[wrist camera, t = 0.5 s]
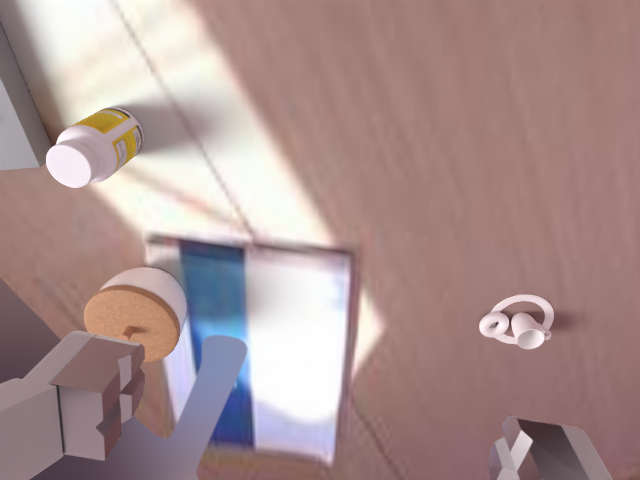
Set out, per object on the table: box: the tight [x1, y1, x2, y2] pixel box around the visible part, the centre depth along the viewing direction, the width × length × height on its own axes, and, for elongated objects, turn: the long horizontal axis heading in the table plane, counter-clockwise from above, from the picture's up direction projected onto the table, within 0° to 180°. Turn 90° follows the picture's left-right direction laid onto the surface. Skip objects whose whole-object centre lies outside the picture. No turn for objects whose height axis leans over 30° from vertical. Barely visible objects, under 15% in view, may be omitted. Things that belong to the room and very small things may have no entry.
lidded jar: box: [84, 267, 187, 362], centre depth 53 cm, size 11×11×9 cm
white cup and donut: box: [479, 294, 554, 349], centre depth 54 cm, size 9×8×4 cm
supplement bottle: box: [46, 107, 144, 188], centre depth 43 cm, size 5×5×10 cm
